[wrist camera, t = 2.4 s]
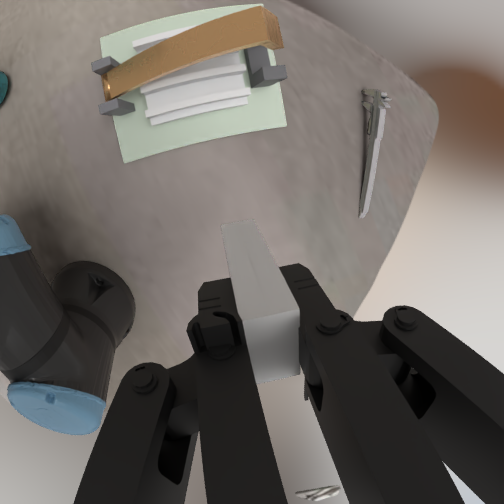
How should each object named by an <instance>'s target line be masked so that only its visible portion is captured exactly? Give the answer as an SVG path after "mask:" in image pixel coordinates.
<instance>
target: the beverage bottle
mask: <svg viewBox="0 0 504 504" xmlns="http://www.w3.org/2000/svg"><path fill="white" fill-rule="evenodd" d="M7 87H8V80H7V77H6V75H5V74H4V72H3V71H2V72H1V71H0V104H1V103H2V101H3V99H4V97H5V95H6V92H7Z"/></svg>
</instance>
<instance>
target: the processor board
mask: <svg viewBox="0 0 504 504" xmlns="http://www.w3.org/2000/svg"><path fill="white" fill-rule="evenodd" d="M260 5H261V6H262V7H263V4H249V5H237V6H227V7H219V8H211V9H205V10H199V11H193V12H188V13H183V14H178V15H174V16H169V17H165V18H161V19H157V20H153V21H150V22H146V23H143V24H139V25H136V26H133V27H130V28H127V29H124V30H121V31H118V32H115V33H113V34H110V35H107V36H105V37H102V38H100V43H101V51H102V59H100V60H97V61H95V62H92V63H91V65H92V71H93V72H95V73H97V74H99V75H103V74H105V73H107V72H108V71H110V70H112V69H113V68H115V67H116V66H118V65H120V64H121V63H123V62H125V61H126V60H128V59H130V58H132V57H133V56H135V55H137V54H139V53H141V52H142V51H144V50H146V49H148V48H150V47H152V46H154V45H156V44H158V43H160V42H162V41H164V40H166V39H168V38H170V37H172V36H175V35H177V34H179V33H181V32H184V31H186V30H188V29H191V28H193V27H196V26H198V25H201V24H203V23H206V22H209V21H211V20H214V19H217V18H220V17H223V16H226V15H229V14H232V13H235V12H238V11H242V10H245V9H249V8H252V7H256V6H260ZM286 78H287V73H286V68H285V65H277V66H276V62H275V57H274V52H273V50H271V49H268V48H266V47H264V46H261V45H259V46H255V47H250V48H246V49H242V50H239V51H235V52H231V53H228V54H224V55H221V56H218V57H215V58H211V59H208V60H205V61H202V62H199V63H196V64H194V65H191V66H188V67H185V68H183V69H180V70H178V71H175V72H172V73H170V74H168V75H165V76H163V77H160V78H158V79H156V80H153V81H151V82H149V83H147V84H145V85H142V86H140V87H138V88H136V89H134V90H132V91H130V92H128V93H126V94H124V95H122V96H120V97H119V98H116V99H113V100H110V101H108V102H105V103H102V104H100V105H98V107H99V112H100V114H101V115H113V120H114V124H115V129H116V133H117V137H118V141H119V146H120V150H121V154H122V158H123V161H124V164H125V163H128V162H131V161H134V160H137V159H141V158H144V157H147V156H151V155H154V154H157V153H161V152H164V151H168V150H172V149H175V148H179V147H183V146H187V145H191V144H195V143H199V142H204V141H208V140H212V139H217V138H222V137H226V136H231V135H236V134H242V133H247V132H253V131H259V130H265V129H271V128H278V127H284V126H287V124H286V118H285V112H284V106H283V100H282V94H281V89H280V83H279V82H280V81H282V80H284V79H286Z"/></svg>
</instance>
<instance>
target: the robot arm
mask: <svg viewBox="0 0 504 504" xmlns="http://www.w3.org/2000/svg"><path fill="white" fill-rule="evenodd" d="M221 230H222V235H223V241H224V246H225V252H226V257H227V263H228V268H229V273H230V278H226V279H220V280H215V281H210V282H204V283H203V284H202V286H201V288H200V289H199V291H198V310H199V311H198V315H196V316H195V317H194V318H193V319H192V320H191V321H190V322H189V323H188V327H187V330H186V331H187V334H188V336H189V339H190V342H191V344H192V347H193V350H194V352H195V353H194V354H193V355H192V356H191V357H190V358H189V359H188V360H186V361H185V362H183V363H181V364H179V365H176V366H174V367H171V368H169V369H166V368H164V367H163V366H162V365H161V364H157V363H153V362H150V363H142V364H139V365H137V366H134V367H133V368H132V369H130V370H129V371H128V372H127V373H126V374H125V376H124V377H123V379H122V381H121V383H120V385H119V387H118V390H117V392H116V394H115V396H114V399H113V401H112V403H111V406H110V408H109V410H108V413H107V415H106V418H105V420H104V423H103V425H102V427H101V430H100V432H99V435H98V437H97V440H96V442H95V445H94V447H93V450H92V453H91V455H90V458H89V460H88V463H87V466H86V469H85V472H84V474H83V477H82V480H81V483H80V486H79V488H78V491H77V494H76V497H75V501H74V504H184V502H185V496H186V491H187V486H188V481H189V476H190V471H191V466H192V461H193V456H194V451H195V445H196V441H197V436H198V432H199V431H200V441H201V452H202V463H203V472H204V481H205V489H206V497H207V504H288V503H287V499H286V496H285V492H284V488H283V485H282V481H281V478H280V474H279V470H278V467H277V463H276V459H275V456H274V452H273V448H272V444H271V441H270V436H269V433H268V429H267V425H266V421H265V417H264V413H263V409H262V405H261V401H260V397H259V393H258V389H257V385H256V384H260V383H265V382H270V381H274V380H278V379H282V378H287V377H291V376H295V375H299V374H300V365H301V368H302V370H303V373H304V375H305V385H304V398H305V400H308V396H309V399H310V401H311V404H312V406H313V409H314V412H315V415H316V417H317V420H318V422H319V425H320V428H321V430H322V433H323V435H324V438H325V441H326V443H327V446H328V448H329V451H330V454H331V456H332V459H333V461H334V464H335V467H336V469H337V472H338V475H339V477H340V480H341V483H342V485H343V488H344V490H345V493H346V496H347V498H348V501H349V504H465V503H464V501H463V499H462V497H461V495H460V493H459V491H458V490H457V488H456V486H455V484H454V482H453V480H452V478H451V476H450V474H449V473H448V471H447V469H446V467H445V465H444V463H445V464H446V465H447V466H448V467H449V468H450V469H451V470H452V471H453V472H454V473H455V474H456V475H457V476H458V477H459V478H460V479H461V480H462V481H463V482H464V483H465V484H466V485H467V486H468V487H469V488H470V489H471V490H472V491H473V492H474V493H475V494H476V495H477V496H478V497H479V498H480V499H481V500H482V501H483V502H484V503H485V504H504V374H503V373H502V372H500V371H499V370H498V369H497V368H496V367H494V366H493V365H492V364H491V363H489V362H488V361H487V360H485V359H484V358H483V357H482V356H480V355H479V354H478V353H476V352H475V351H474V350H472V349H471V348H470V347H469V346H467V345H466V344H465V343H463V342H462V341H460V340H459V339H458V338H456V337H455V336H454V335H452V334H451V333H450V332H448V331H447V330H446V329H444V328H443V327H442V326H440V325H439V324H438V323H436V322H435V321H433V320H432V319H431V318H429V317H428V316H426V315H425V314H424V313H422V312H421V311H419V310H417V309H415V308H413V307H409V306H405V305H404V306H395V307H392V308H390V309H388V310H387V311H386V312H385V314H384V317H383V320H382V321H368V322H361V321H354V320H353V318H352V317H351V316H350V315H349V314H347V313H345V312H343V311H341V310H336V309H335V308H334V306H333V305H332V303H331V301H330V300H329V298H328V297H327V295H326V294H325V292H324V291H323V289H322V288H321V286H320V285H319V284H318V282H317V281H316V279H314V276H313V275H312V273H311V272H310V270H309V269H308V268H306V267H304V266H303V265H301V264H299V263H297V264H292V265H287V266H282V267H278V265H277V263H276V261H275V259H274V258H273V256H272V254H271V252H270V250H269V248H268V246H267V244H266V242H265V240H264V238H263V236H262V234H261V232H260V230H259V229H258V227H257V225H256V223H255V221H254V219H251V220H245V221H240V222H234V223H228V224H223V225H221ZM30 249H31V246H30V245H29V244H27V242H26V240H25V239H24V237H23V235H22V233H21V231H20V229H19V227H18V225H17V223H16V221H15V220H14V219H13V218H12V217H11V216H9V215H5V214H3V215H0V371H1V372H2V373H3V374H4V375H5V376H6V377H7V378H8V380H9V381H10V383H11V384H9V386H8V389H7V390H8V394H7V396H8V399H9V401H10V403H11V405H12V406H13V407H14V408H15V409H16V410H17V411H18V412H19V413H20V414H21V415H23V416H24V417H26V418H27V419H29V420H31V421H32V422H34V423H36V424H38V425H40V426H42V427H45V428H47V429H50V430H53V431H56V432H59V433H64V434H70V435H85V434H90V433H92V432H94V431H95V430H97V429H98V427H99V426H100V423H101V419H102V414H103V410H104V409H105V407H106V398H107V391H108V385H109V379H110V374H111V368H112V363H113V358H114V353H115V349H116V348H117V347H118V346H119V344H120V343H121V342H122V340H123V339H124V338H125V337H126V336H127V334H128V333H129V332H130V330H131V328H132V325H133V321H134V317H135V302H134V298H133V296H132V293H131V291H130V289H129V288H128V286H127V285H126V284H125V282H124V281H123V280H122V279H121V278H120V277H119V276H118V275H117V274H115V273H114V272H113V271H111V270H110V269H108V268H106V267H104V266H102V265H99V264H96V263H92V262H75V263H72V264H69V265H67V266H65V267H64V268H63V269H62V270H61V271H60V272H59V273H58V275H57V276H56V277H55V279H54V280H53V282H52V284H51V287H50V285H49V283H48V282H47V280H46V278H45V276H44V275H43V273H42V271H41V269H40V267H39V265H38V264H37V262H36V260H35V258H34V256H33V254H32V252H31V250H30ZM442 461H443V462H444V463H443V462H442Z"/></svg>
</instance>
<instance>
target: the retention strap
mask: <svg viewBox="0 0 504 504" xmlns="http://www.w3.org/2000/svg"><path fill="white" fill-rule="evenodd" d="M259 45H261V46H264V47H266V48H268V49H271V50H275V49H280V48H284V46H283V41H282V36H281V32H280V27H279V23H278V19H277V17H276V16H275V15H274V14H272V13H271V12H270V11H268V10H267V9H265V8H264V7H262V6H261V5H260V6H256V7H252V8H249V9H245V10H242V11H238V12H235V13H232V14H229V15H226V16H223V17H220V18H217V19H214V20H211V21H209V22H206V23H203V24H201V25H198V26H196V27H193V28H191V29H188V30H186V31H184V32H181V33H179V34H177V35H175V36H172V37H170V38H168V39H166V40H164V41H162V42H160V43H158V44H156V45H154V46H152V47H150V48H148V49H146V50H144V51H142V52H141V53H139V54H137V55H135V56H133V57H132V58H130V59H128V60H126V61H125V62H123V63H121V64H120V65H118V66H116V67H115V68H113V69H112V70H110V71H108V72H107V73H105V74H103V75H101V78H102V84H103V90H104V95H105V100H106V102H108V101H110V100H113V99H116V98H119V97H120V96H122V95H124V94H126V93H128V92H130V91H132V90H134V89H136V88H138V87H140V86H142V85H145V84H147V83H149V82H151V81H153V80H156V79H158V78H160V77H163V76H165V75H168V74H170V73H172V72H175V71H178V70H180V69H183V68H185V67H188V66H191V65H194V64H196V63H199V62H202V61H205V60H208V59H211V58H215V57H218V56H221V55H224V54H228V53H231V52H235V51H239V50H242V49H246V48H250V47H255V46H259Z"/></svg>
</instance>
